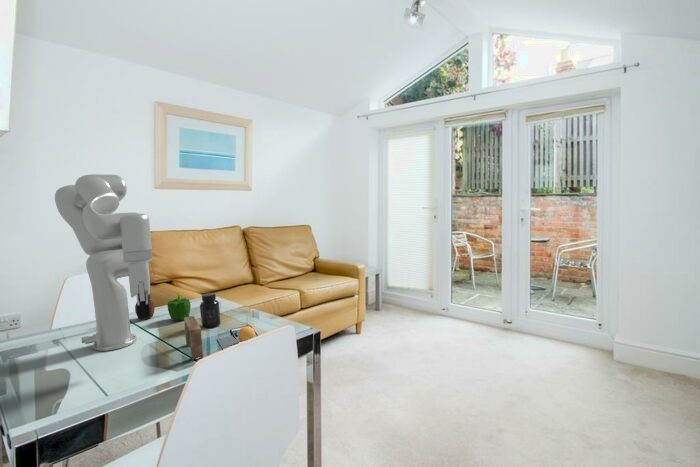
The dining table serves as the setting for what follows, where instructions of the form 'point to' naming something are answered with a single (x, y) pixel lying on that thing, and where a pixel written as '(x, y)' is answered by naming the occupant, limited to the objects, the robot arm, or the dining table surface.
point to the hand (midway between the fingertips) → (143, 317)
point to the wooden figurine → (151, 307)
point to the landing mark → (227, 341)
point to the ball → (246, 333)
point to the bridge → (193, 337)
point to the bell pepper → (179, 308)
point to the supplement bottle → (210, 311)
